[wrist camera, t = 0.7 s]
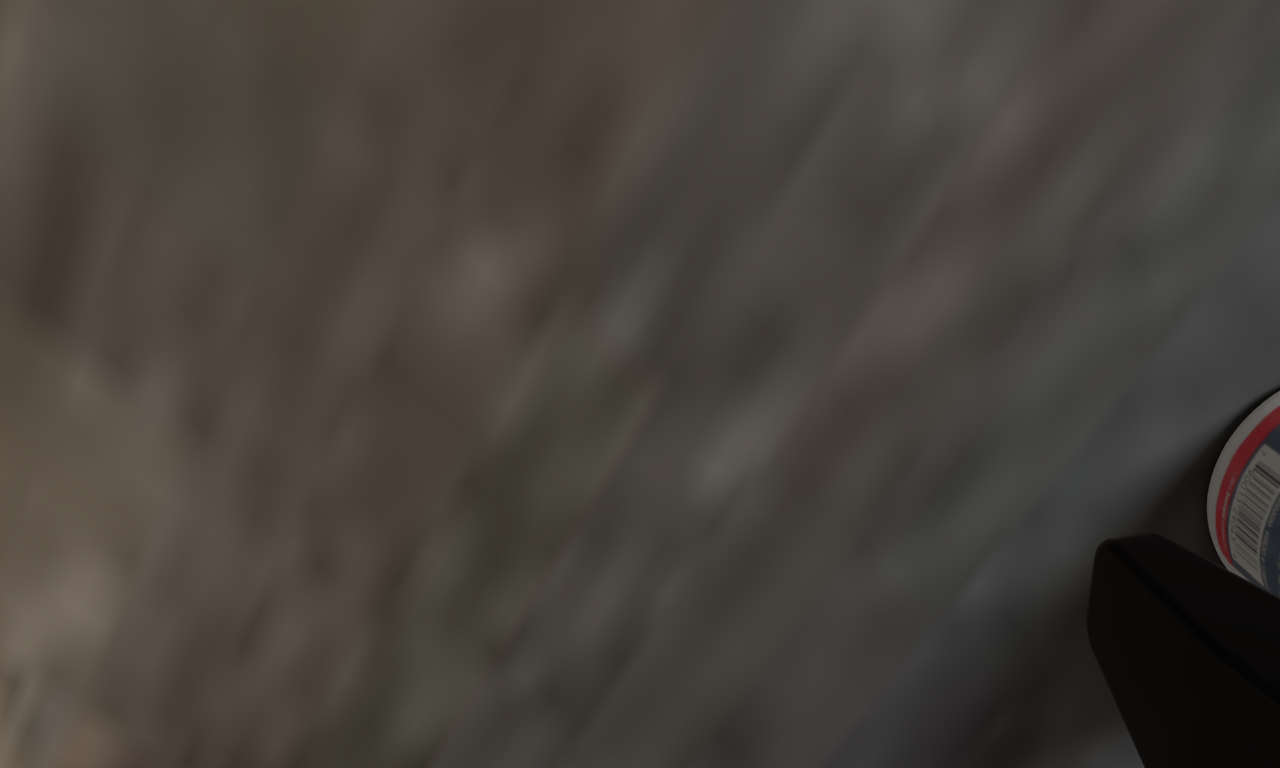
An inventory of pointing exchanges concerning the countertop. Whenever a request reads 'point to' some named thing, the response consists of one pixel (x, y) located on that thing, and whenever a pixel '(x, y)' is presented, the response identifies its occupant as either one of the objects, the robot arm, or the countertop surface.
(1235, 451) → the pill bottle
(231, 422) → the countertop surface
